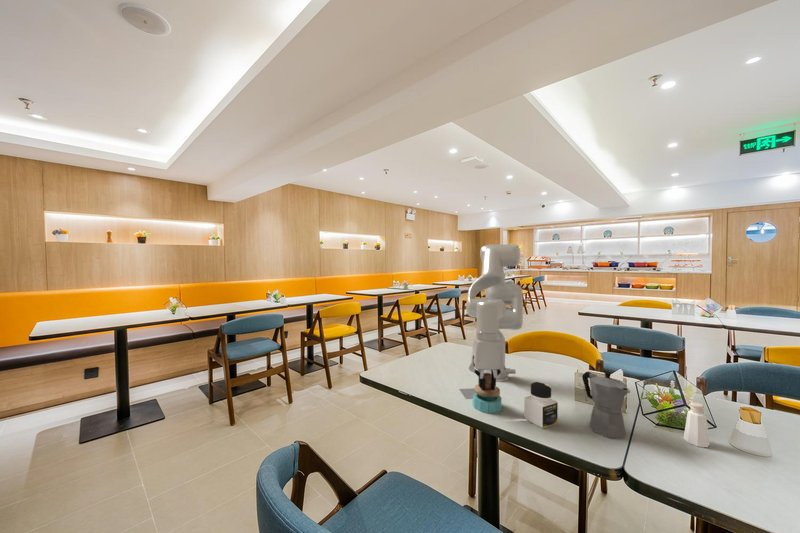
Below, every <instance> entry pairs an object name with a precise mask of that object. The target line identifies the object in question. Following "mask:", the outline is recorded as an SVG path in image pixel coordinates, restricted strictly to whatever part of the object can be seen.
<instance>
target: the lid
mask: <svg viewBox="0 0 800 533" xmlns="http://www.w3.org/2000/svg"><path fill="white" fill-rule="evenodd" d="M483 377H484V379H485V390H482V389H481V388H480V387H479V384H476V385H475V386H474V388H475V393H477V394H478V395H481V396H484V397H496V396H500V394H501V390H500V388H499V387H498V386H497V385H496V386H495V390H492V374H490V373H484V375H483Z"/></svg>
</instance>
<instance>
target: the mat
mask: <svg viewBox="0 0 800 533" xmlns="http://www.w3.org/2000/svg"><path fill="white" fill-rule="evenodd" d="M459 391H460V393H461V395H463V397H464V399H466V400H470V399H471V400H473V394H474V393H475V387H473V388H459Z"/></svg>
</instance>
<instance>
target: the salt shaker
mask: <svg viewBox="0 0 800 533" xmlns="http://www.w3.org/2000/svg"><path fill="white" fill-rule="evenodd" d="M689 404H690V409H689V410H688V411H687V414H686V420H685V426H684V434H683V440H684V441H686V443H688V444H689V445H690V444H691V445H692V444H693V446H695V447H697V446H699V447H698V448H704V447H707V448H709V447H710V446H711V442H710V436H709V434H710V433H709V428H708V420H707V414H705V413H704V407H705V406H704V405H703V404H702V403H700V402H693V401H692V402H690V403H689ZM709 445H710V446H709ZM708 446H709V447H708Z"/></svg>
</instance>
